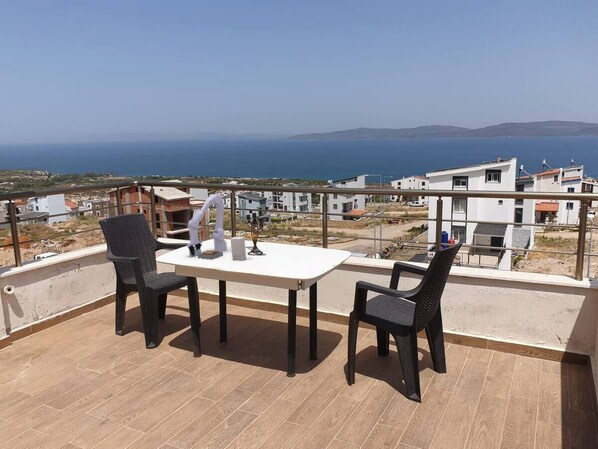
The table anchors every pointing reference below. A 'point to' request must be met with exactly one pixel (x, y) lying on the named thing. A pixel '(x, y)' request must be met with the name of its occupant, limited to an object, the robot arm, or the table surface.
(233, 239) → the skincare box
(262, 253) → the table surface
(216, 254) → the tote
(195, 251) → the carton
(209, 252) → the walnut block
